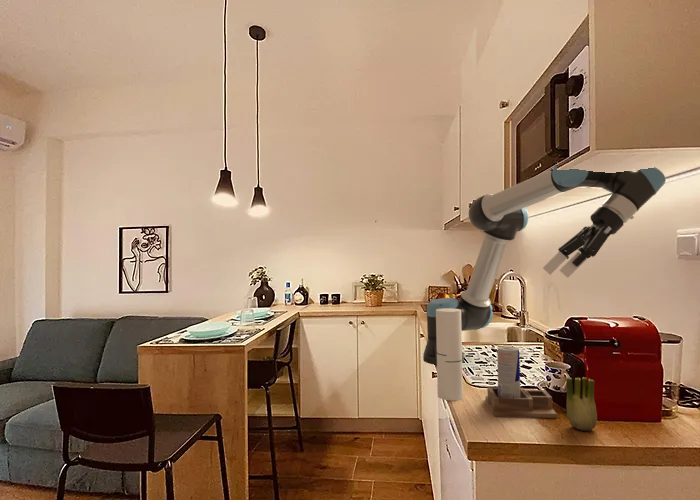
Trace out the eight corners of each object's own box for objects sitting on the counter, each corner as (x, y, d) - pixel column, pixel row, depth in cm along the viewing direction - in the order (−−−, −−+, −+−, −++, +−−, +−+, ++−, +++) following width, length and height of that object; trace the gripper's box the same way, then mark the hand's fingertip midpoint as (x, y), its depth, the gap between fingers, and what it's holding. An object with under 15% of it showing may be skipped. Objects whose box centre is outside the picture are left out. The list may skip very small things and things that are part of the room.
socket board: (485, 399, 127) (485, 385, 127) (541, 400, 126) (540, 386, 126) (495, 416, 115) (494, 400, 115) (557, 417, 113) (556, 401, 113)
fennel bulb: (564, 427, 107) (563, 376, 107) (575, 422, 110) (574, 373, 110) (589, 435, 102) (588, 382, 102) (600, 429, 105) (599, 378, 105)
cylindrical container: (444, 391, 136) (443, 307, 136) (467, 395, 132) (465, 309, 132) (433, 397, 131) (431, 310, 131) (456, 402, 126) (454, 312, 126)
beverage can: (522, 407, 118) (521, 350, 118) (500, 407, 118) (499, 349, 118) (517, 400, 123) (516, 345, 123) (496, 400, 124) (495, 345, 124)
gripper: (648, 222, 108) (583, 286, 109) (602, 227, 132) (549, 279, 134) (624, 200, 108) (560, 264, 110) (582, 209, 133) (530, 261, 135)
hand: (554, 272), depth 122 cm, fingers open, 13 cm apart
